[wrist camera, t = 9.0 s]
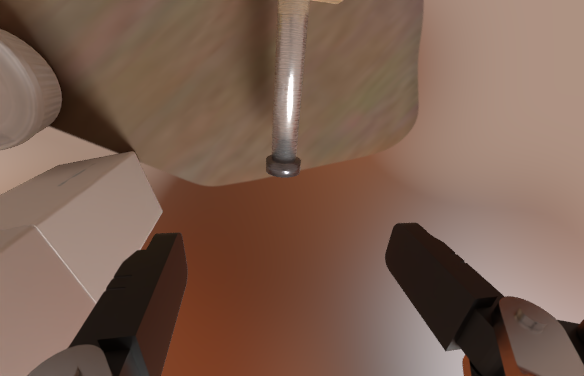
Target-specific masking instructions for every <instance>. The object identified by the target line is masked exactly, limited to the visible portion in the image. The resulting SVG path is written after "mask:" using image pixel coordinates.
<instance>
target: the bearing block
mask: <svg viewBox="0 0 584 376" xmlns="http://www.w3.org/2000/svg"><path fill="white" fill-rule="evenodd" d="M312 1H319V2H326V3H333V4H339V3H340V2H341V1H343V0H312Z"/></svg>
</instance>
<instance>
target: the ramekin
mask: <svg viewBox="0 0 584 376" xmlns="http://www.w3.org/2000/svg"><path fill="white" fill-rule="evenodd" d="M61 103H62V93H61V89H60V85H59V83H58V80H57V78H56V76H55V73H54V72H53V71H52V69H51V67H50V66H49V65H48V64H47V62H46V61H45V59H43V58H42V57H41V55H40V54H39V53H38V52H36V51H35V50H34V49H33V48H32V47H31V46H29V45H28V44H27V43H25V42H24V41H23V40H21V39H19V38H18V37H16V36H15V35H13V34H11V33H9V32H7V31H5V30H2V29H0V150H4V149H8V148H12V147H15V146H18V145H20V144H22V143H24V142H26V141H27V140H29V139H30V138H31V137H32V136H34V135H35V134H36V133H38V132H39V131H41V130H43V129H44V128H46V127H48V126H49V125H50V124H51V123H52V122H54V120H55V118H57V116H58V113H59V112H60V108H61Z"/></svg>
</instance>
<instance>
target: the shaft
mask: <svg viewBox="0 0 584 376" xmlns="http://www.w3.org/2000/svg"><path fill="white" fill-rule="evenodd" d="M309 1H310V0H278V14H277V38H276V62H275V86H274V110H273V134H272V155H270V156H268V157H267V158H266V172H267V173H268V174H270V175H273V176H276V177H293V176H297V175H298V174H299V172H300V163H301V160H300V159H299V158H298V157H296V151H297V139H298V128H299V116H300V105H301V93H302V82H303V70H304V59H305V47H306V36H307V24H308V12H309Z"/></svg>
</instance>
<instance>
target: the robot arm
mask: <svg viewBox="0 0 584 376" xmlns="http://www.w3.org/2000/svg"><path fill="white" fill-rule="evenodd" d="M385 260H386V265H387V267H388V269H389V271H390V272H391V274H392V275H393V276H394V278H395V279H396V281H397V282H398V284H399V285H400V287H401V288H402V289H403V291H404V292H405V294H406V295H407V297H408V298H409V299H410V301H411V302H412V304H413V305H414V306H415V308H416V309H417V311H418V312H419V314H420V315H421V317H422V318H423V319H424V321H425V322H426V324H427V325H428V327H429V328H430V329H431V331H432V332H433V334H434V335H435V336H436V338H437V339H438V341H439V342H440V344H441V345H442V347H443V348H444V349H445V351H451V350H457V349H462V350H463V352H464V353H465V356H464V358H463V361H462V364H463V374H464V376H584V320H583V321H582V322H581V323H580V324H576V323H571V322H566V321H560V320H556V319H555V318H554V317H553V316H552V315H551V314H549V313H548V312H546V311H545V310H544V309H542V308H540V307H539V306H537V305H535V304H533V303H531V302H529V301H526V300H524V299H521V298H517V297H511V296H507V297H504V296H503V295H502V294H501V293H500V292H499V291H498V290H496V289H495V288H494V287H493V286H492V285H491V284H490V283H489V282H487V281H486V280H485V279H484V278H483V277H482V276H481V275H480V274H478V273H477V272H476V271H475V270H474V269H473V268H472V267H470V266H469V265H468V264H467V263H465V262H464V260H463V259H462V258H460V257H459V256H458V255H455V252H454V251H453V250H452V249H450V248H449V247H448V246H447V245H446V244H445V243H444V242H442V241H440V240H438V239H437V238H434V237H433V236H432V235H430V234H429V233H428V232H427V231H426V230H425V229H423V227H421V226H420V225H419V224H418V223H398V224H396V225H395V226H394V227H393V230H392V234H391V237H390V240H389V243H388V247H387V250H386V254H385ZM186 283H187V263H186V256H185V250H184V244H183V238H182V234H181V233H161V234H155V235H154V237H153V238H152V241H151V242H150V244H149V246H148V247H147V249H146V250H137V251H135V252H134V253H133V254H132V255H131V256H129V257H128V258H127V259H126V260H125V261H123V262H122V264H121V265H120V267H119V269H118V270H117V272H116V273H115V275H114V278H113V279H112V280H111V281H110V283H109V284H108V286H107V287H106V291H104V292H103V294H102V295H101V297H100V298H99V300H98V302H97V303H96V305H95V306H94V308H93V309H92V311H91V313H90V314H89V316H88V317H87V319H86V320H85V322H84V324H83V325H82V327H81V328H80V330H79V332H78V333H77V335H76V336H75V338H74V339H73V341H72V343H71V344H70V345H69V347H68V348H67V349H65V350H63V351H61V352H59V353H57V354H55V355H53V356H51V357H50V358H48V359H46V360H45V361H44V362H42V363H41V364H39V365H38V366H37V367H36V368H35V369H34V370H32V371H31V372H30V373H29V374H28V375H27V376H161V373H162V370H163V366H164V362H165V359H166V356H167V352H168V348H169V344H170V341H171V338H172V334H173V330H174V327H175V323H176V320H177V316H178V312H179V309H180V305H181V301H182V298H183V294H184V291H185V287H186Z"/></svg>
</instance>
